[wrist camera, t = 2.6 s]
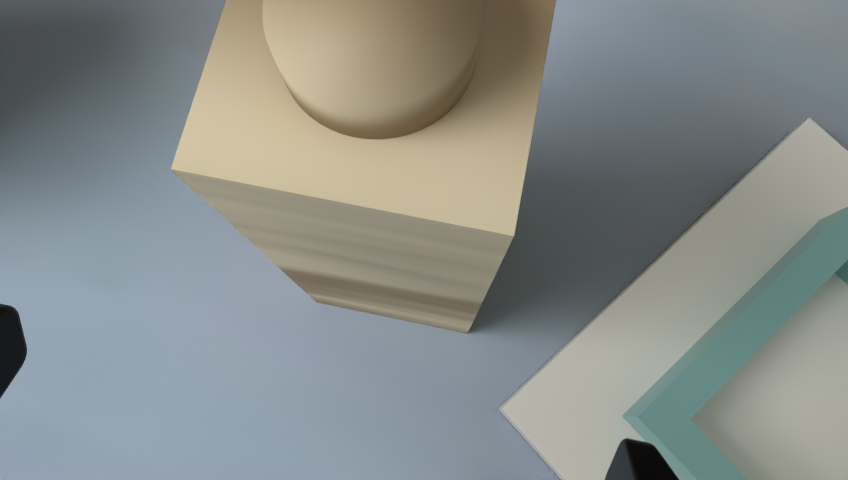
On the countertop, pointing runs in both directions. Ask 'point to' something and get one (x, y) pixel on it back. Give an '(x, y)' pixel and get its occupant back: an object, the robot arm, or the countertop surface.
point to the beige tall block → (372, 144)
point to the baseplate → (719, 340)
